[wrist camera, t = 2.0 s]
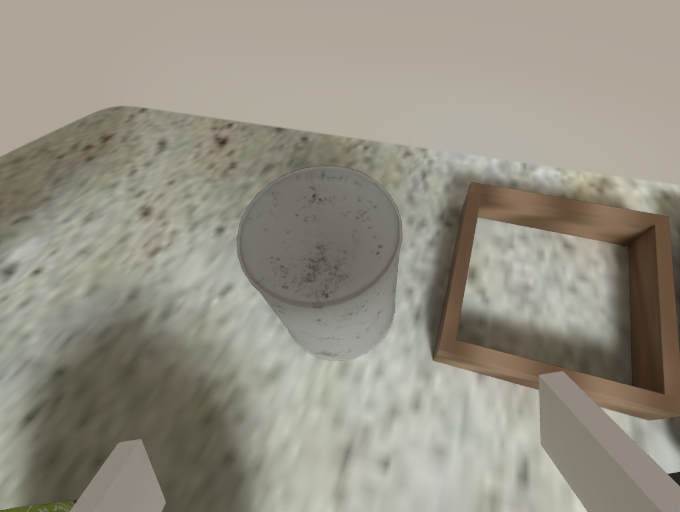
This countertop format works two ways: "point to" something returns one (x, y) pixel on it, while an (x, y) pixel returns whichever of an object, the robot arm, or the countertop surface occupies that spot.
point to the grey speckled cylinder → (325, 258)
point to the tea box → (45, 507)
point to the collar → (645, 298)
